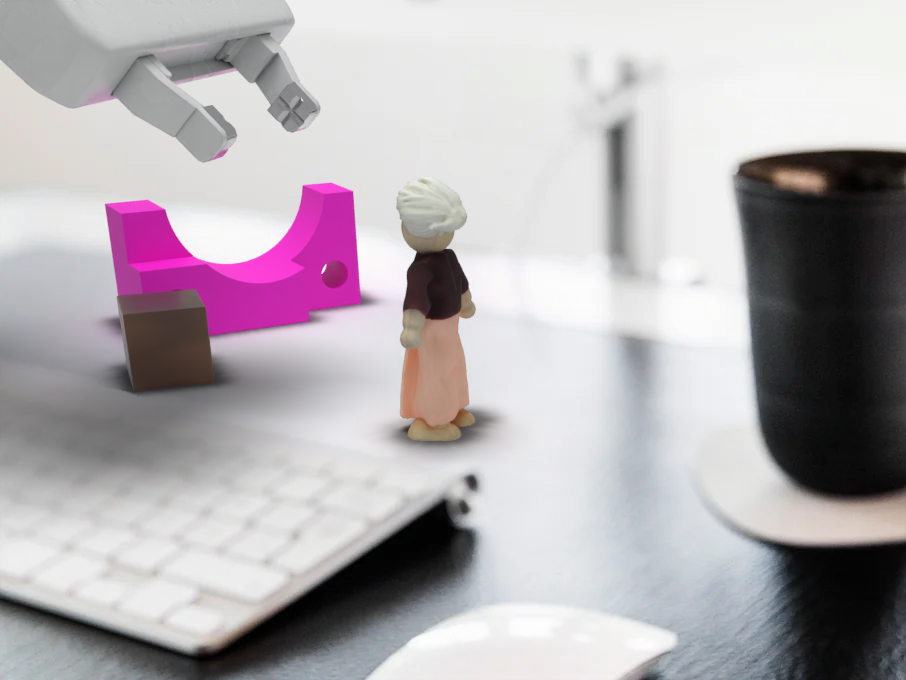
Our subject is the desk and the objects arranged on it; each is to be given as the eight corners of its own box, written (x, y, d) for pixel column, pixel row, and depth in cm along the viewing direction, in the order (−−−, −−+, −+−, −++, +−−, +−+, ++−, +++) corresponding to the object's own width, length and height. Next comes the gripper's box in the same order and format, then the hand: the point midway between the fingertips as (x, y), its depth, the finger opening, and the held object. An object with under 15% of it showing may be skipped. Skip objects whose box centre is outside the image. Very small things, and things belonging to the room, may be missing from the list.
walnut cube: (134, 392, 78) (122, 314, 76) (127, 370, 82) (116, 295, 80) (215, 384, 80) (206, 307, 78) (204, 363, 83) (196, 288, 81)
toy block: (149, 345, 86) (132, 220, 83) (122, 322, 91) (104, 203, 88) (376, 313, 94) (368, 197, 90) (339, 293, 98) (331, 182, 95)
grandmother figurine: (417, 406, 76) (404, 163, 71) (487, 409, 76) (480, 165, 70) (383, 456, 69) (366, 191, 64) (460, 459, 69) (450, 194, 63)
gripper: (130, -45, 76) (316, 149, 79) (-126, -29, 58) (124, 222, 61) (195, -139, 73) (386, 65, 76) (-54, -153, 55) (206, 116, 58)
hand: (268, 135), depth 68 cm, fingers open, 8 cm apart
